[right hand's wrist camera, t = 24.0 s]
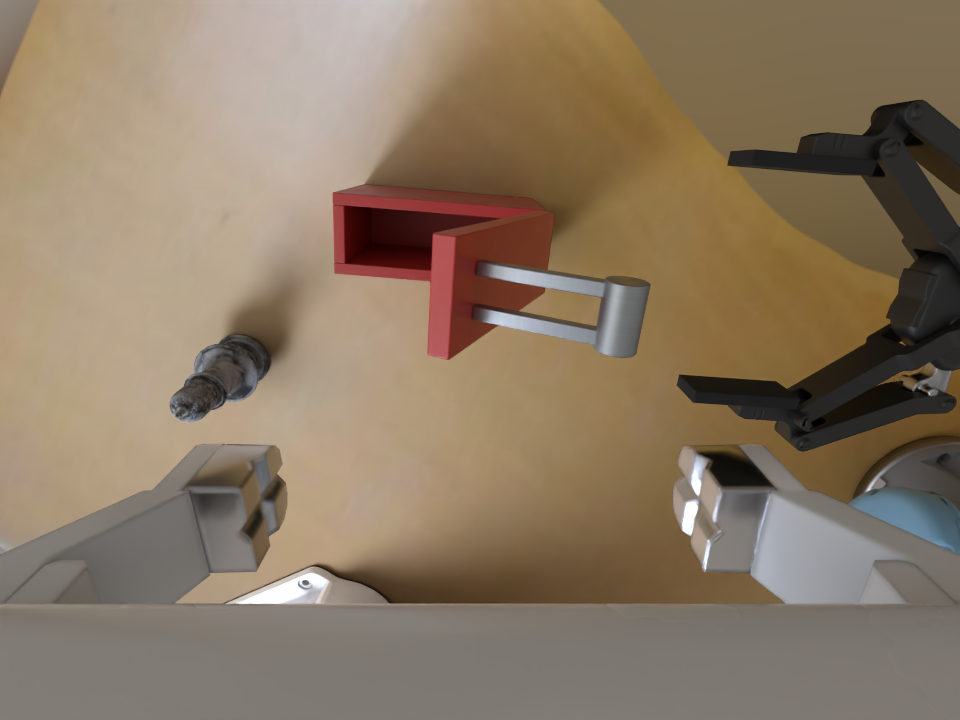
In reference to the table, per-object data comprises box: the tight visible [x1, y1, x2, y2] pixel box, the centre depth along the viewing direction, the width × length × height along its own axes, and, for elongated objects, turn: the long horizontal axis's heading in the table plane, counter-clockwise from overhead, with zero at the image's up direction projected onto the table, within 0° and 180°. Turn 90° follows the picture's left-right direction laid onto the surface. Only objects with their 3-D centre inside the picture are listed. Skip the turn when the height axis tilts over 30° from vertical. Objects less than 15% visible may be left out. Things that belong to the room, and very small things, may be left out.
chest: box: [333, 184, 546, 281], centre depth 42 cm, size 15×6×10 cm, turn 85°
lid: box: [427, 211, 650, 360], centre depth 28 cm, size 16×6×9 cm
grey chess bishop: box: [170, 335, 269, 422], centre depth 46 cm, size 6×6×12 cm
